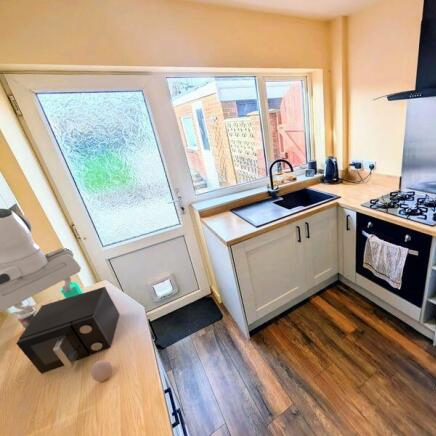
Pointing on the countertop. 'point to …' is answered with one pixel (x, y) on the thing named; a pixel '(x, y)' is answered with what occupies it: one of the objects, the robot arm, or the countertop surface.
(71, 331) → the microwave door
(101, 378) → the egg
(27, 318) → the pill bottle
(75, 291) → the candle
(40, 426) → the countertop surface
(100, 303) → the microwave
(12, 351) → the countertop surface
